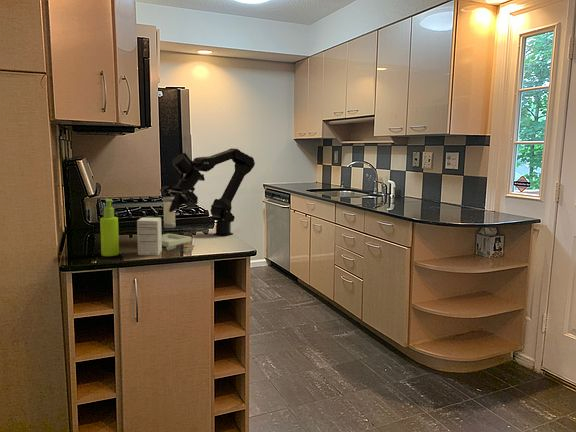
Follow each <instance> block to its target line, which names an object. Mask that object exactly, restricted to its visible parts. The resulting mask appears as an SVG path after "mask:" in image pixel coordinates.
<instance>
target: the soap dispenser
mask: <svg viewBox="0 0 576 432" xmlns="http://www.w3.org/2000/svg"><path fill="white" fill-rule="evenodd" d="M104 200H105V207H103V216H102V217H100V218H99V223H100V225H99V227H100V228H99V229H100V252H101V253H100V254H101V256H102V257H115V256H118V255H119V254H120V240H119V217H117V216H115V208H114V207H113V206H112V203H113V199H112V198H104Z"/></svg>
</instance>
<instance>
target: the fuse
mask: <svg viewBox="0 0 576 432" xmlns="http://www.w3.org/2000/svg"><path fill="white" fill-rule="evenodd" d="M173 200H174V197H171V196H168V197H164V196H163V197H162V206H163V208H164V211H163V228H165V229H172V228H173V229H175V228H176V209H175V210H174V211H172V212H170V211H169V209H170V206H171V204H172V202H173Z"/></svg>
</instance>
